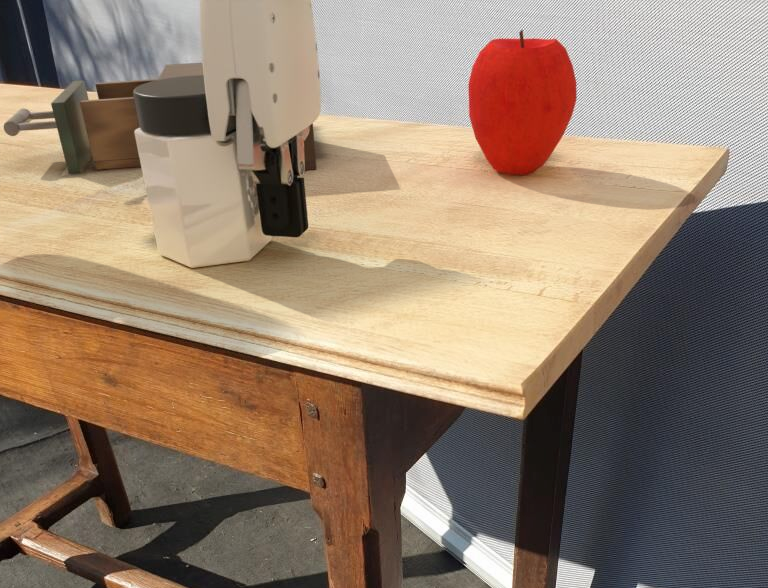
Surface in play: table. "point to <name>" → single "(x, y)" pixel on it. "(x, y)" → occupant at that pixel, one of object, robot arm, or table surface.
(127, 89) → the drawer
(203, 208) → the jar
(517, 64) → the apple
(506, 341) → the table surface
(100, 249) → the table surface
